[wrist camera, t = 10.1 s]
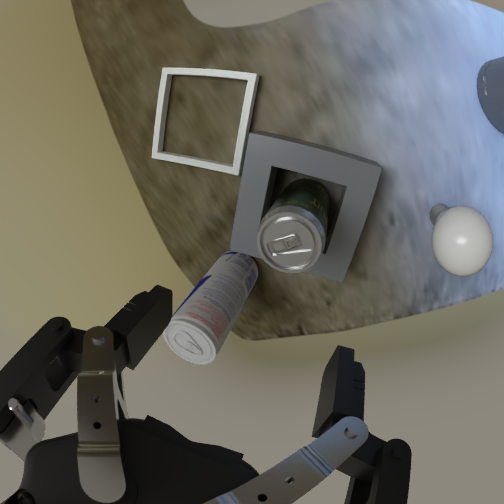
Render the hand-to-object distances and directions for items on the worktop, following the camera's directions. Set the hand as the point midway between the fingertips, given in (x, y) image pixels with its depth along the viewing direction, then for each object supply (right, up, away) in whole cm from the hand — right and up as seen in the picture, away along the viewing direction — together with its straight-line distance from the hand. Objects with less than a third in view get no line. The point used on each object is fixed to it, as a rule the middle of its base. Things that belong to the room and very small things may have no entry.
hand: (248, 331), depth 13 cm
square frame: (-6, +19, +18) cm, 27 cm away
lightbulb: (+21, +8, +15) cm, 27 cm away
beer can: (+6, +9, +19) cm, 22 cm away
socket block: (+6, +9, +19) cm, 22 cm away
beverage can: (-2, +2, +26) cm, 26 cm away
